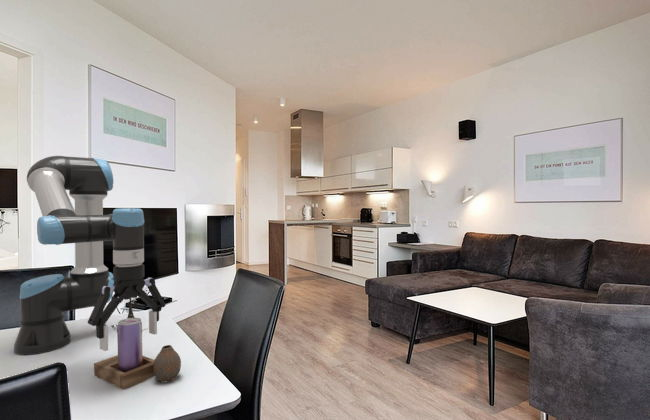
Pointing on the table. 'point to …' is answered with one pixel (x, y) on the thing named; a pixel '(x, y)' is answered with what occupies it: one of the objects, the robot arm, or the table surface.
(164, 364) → the vase
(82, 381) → the table surface
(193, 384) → the table surface
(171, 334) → the table surface
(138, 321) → the beverage can
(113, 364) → the wooden recessed tray
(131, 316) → the eiffel tower figurine
